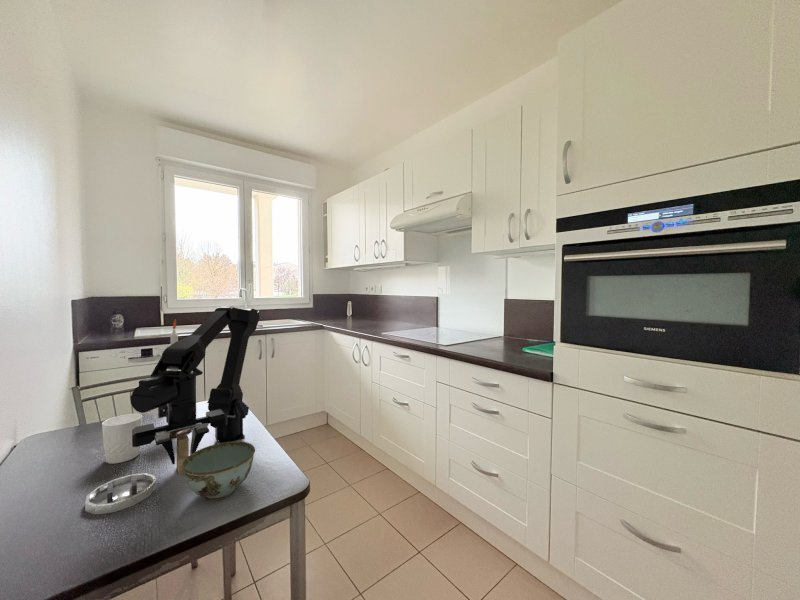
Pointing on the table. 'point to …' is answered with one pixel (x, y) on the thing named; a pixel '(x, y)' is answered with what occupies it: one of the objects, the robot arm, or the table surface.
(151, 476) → the tin
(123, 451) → the white cup
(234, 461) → the bowl
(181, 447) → the wooden plank
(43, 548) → the table surface
